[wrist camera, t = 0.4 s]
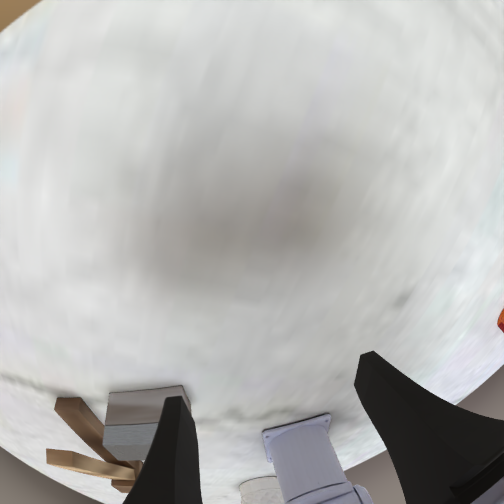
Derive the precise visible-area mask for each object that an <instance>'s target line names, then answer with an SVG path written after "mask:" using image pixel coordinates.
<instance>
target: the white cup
mask: <svg viewBox="0 0 504 504" xmlns="http://www.w3.org/2000/svg"><path fill="white" fill-rule="evenodd" d="M240 493H241V503H242V504H283V503H285V502H284V499H283V496H282V492H281V489H280V486H279V482H278V479H277V477H262V478H256V479H253V480H249V481H247V482H244V483H242V484H241V485H240Z"/></svg>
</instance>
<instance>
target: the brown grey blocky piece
mask: <svg viewBox="0 0 504 504" xmlns="http://www.w3.org/2000/svg"><path fill="white" fill-rule="evenodd" d="M180 395H182V397H183V399H184V401H185V403H186V405H187V407H188V410H189V412H190V414H191V404H190V402H189V400H188V398H187V395H186V393H185V391H184V389H183V387H182V386H176V387H168V388H160V389H152V390H142V391H131V392H119V393H109V399H108V406H107V413H106V420H105V426H118V425H139V424H153V423H159V420H160V416H161V413H162V409H163V405H164V400H165V398H166V397H172V396H180ZM54 410H55V411H56V412H57V413H58V415H59V416H60V417H61V418H62V419H63V420H64V421H65V422H66V423H67V424H68V425H69V426H70V428H71V429H72V430H73V431H74V432H75V433H76V434H77V435H78V436H79V437H80V438H81V439H82V440H83V441H84V442H85V443H86V444H87V445H88V446H90V447H91V448H92V449H93V450H94V451H95V452H96V453H97V454H98V455H99V456H100V457H101V458H103V459H104V460H105V461H106V462H108V463H111V464H115V465H119V466H122V467H126V468H131V469H134V473H135V480H114V479H112V481H111V486H113V487H114V488H116V489H117V490H119V491H120V492H122V493H129V492H130V490H131V488H132V487H133V485H134V483H135V481H136V479H137V477H138V475H139V473H140V471H141V469H142V466H143V463H142V462H141V461H140V460H133V461H118V460H117V459H116V458H115V457H114V456H113V455H112V454H111V453H110V452H109V451H108V450H107V449H106V448H105V447H104V446H103V436H104V428H105V427H104V425H103V424H102V423H101V422H100V421H99V420H98V418H97V417H96V416H95V415H94V414H93V412H92V411H91V410H90V409H89V408H88V406H87V405H86V404H85V402H84V401H83V400H82V399H81V398H57V401H56V404H55V408H54ZM191 416H192V414H191Z"/></svg>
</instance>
